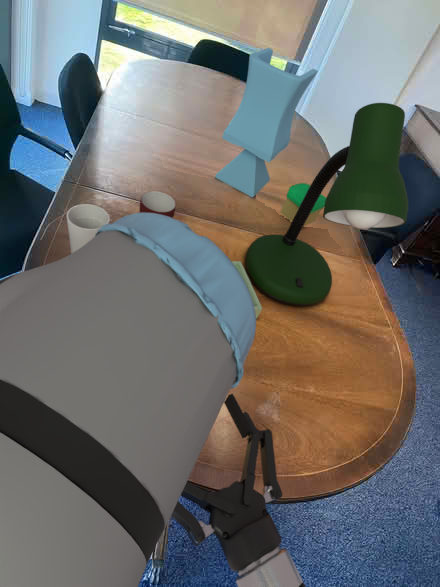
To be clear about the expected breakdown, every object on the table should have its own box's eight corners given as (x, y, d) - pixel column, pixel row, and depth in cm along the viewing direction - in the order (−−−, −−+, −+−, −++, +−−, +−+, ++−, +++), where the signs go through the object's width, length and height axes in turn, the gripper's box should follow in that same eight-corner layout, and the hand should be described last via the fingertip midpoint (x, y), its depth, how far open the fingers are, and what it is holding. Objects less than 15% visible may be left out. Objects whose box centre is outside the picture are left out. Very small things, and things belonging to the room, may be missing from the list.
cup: (59, 258, 82) (57, 213, 74) (88, 243, 87) (89, 199, 79) (85, 279, 80) (86, 235, 72) (114, 262, 86) (118, 219, 77)
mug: (143, 254, 90) (149, 220, 83) (120, 234, 92) (124, 199, 85) (175, 238, 97) (183, 205, 90) (153, 220, 99) (159, 187, 92)
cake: (292, 202, 124) (306, 175, 117) (318, 221, 120) (333, 194, 113) (274, 209, 118) (287, 181, 111) (300, 230, 114) (315, 202, 107)
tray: (195, 324, 80) (199, 313, 78) (179, 273, 89) (182, 262, 86) (257, 318, 86) (262, 308, 83) (236, 271, 95) (240, 260, 92)
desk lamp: (345, 341, 89) (496, 167, 57) (252, 329, 83) (361, 131, 52) (316, 251, 109) (415, 87, 77) (240, 237, 104) (313, 55, 72)
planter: (272, 181, 129) (318, 70, 104) (254, 200, 118) (301, 81, 94) (232, 160, 132) (268, 47, 107) (211, 177, 121) (245, 55, 96)
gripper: (164, 618, 46) (110, 450, 57) (317, 520, 58) (249, 397, 69) (175, 614, 41) (114, 429, 51) (341, 507, 53) (263, 376, 64)
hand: (191, 411), depth 60 cm, fingers open, 13 cm apart
